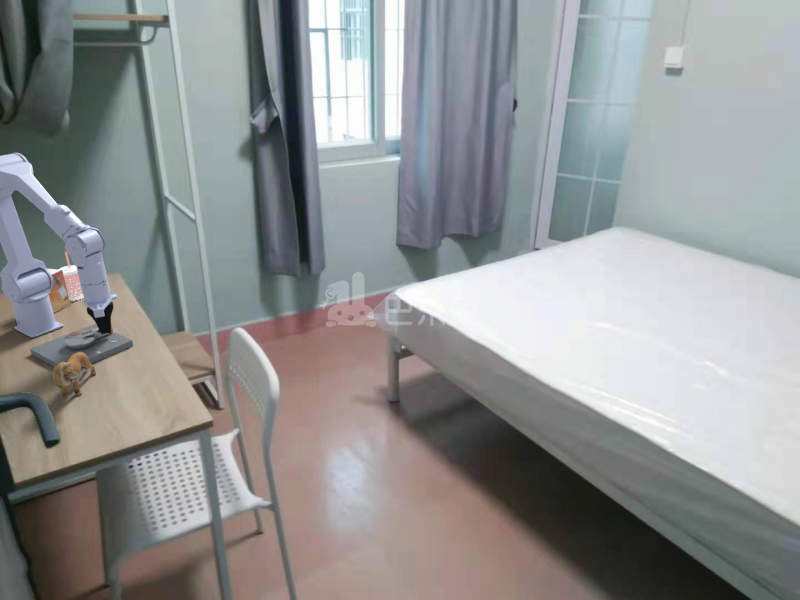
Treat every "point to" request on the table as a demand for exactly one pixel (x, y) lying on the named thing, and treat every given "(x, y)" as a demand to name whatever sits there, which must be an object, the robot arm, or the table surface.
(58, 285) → the small box
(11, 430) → the table surface
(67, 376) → the lion figurine
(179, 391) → the table surface
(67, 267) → the beverage cup
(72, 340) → the dial
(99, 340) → the dial board
